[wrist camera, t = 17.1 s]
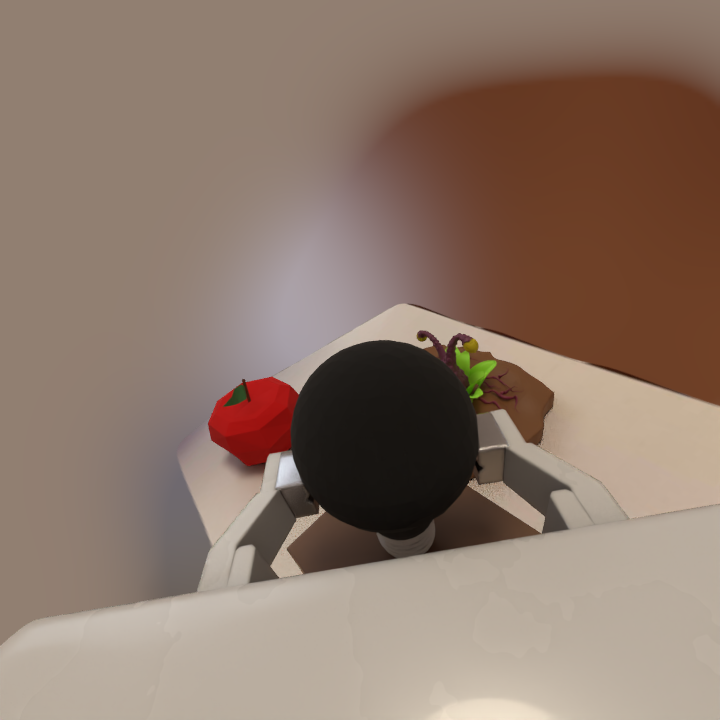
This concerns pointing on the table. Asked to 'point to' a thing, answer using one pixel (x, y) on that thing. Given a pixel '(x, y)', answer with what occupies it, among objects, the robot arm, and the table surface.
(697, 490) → the table surface
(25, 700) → the robot arm
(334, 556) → the walnut block
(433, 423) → the light bulb
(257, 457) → the apple
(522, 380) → the plant
